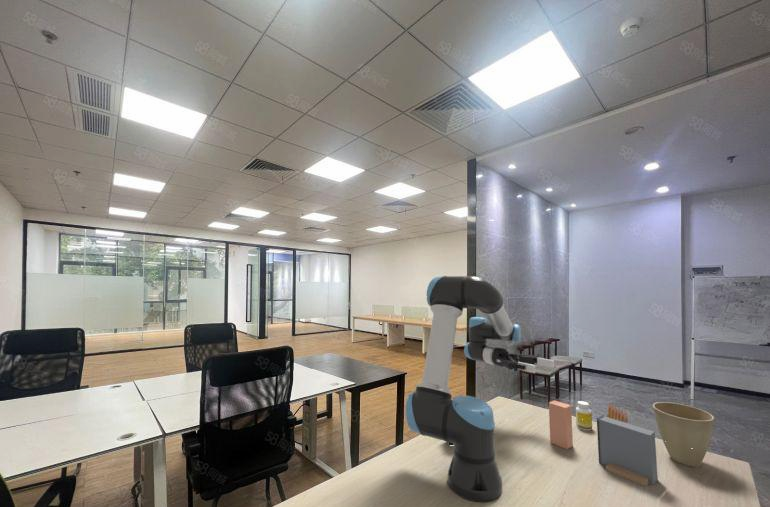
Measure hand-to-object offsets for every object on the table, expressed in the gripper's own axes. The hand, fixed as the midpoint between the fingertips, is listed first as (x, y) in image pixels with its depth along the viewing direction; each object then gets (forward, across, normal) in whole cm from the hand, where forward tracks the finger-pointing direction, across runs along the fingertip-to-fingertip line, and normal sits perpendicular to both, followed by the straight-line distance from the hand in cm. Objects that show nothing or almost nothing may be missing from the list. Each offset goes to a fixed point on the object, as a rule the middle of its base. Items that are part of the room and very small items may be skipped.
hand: (544, 366), depth 123 cm
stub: (+5, 0, -26) cm, 27 cm away
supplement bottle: (+4, -21, -26) cm, 34 cm away
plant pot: (+34, -23, -26) cm, 49 cm away
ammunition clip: (+16, -20, -26) cm, 37 cm away
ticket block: (+25, 0, -26) cm, 36 cm away
